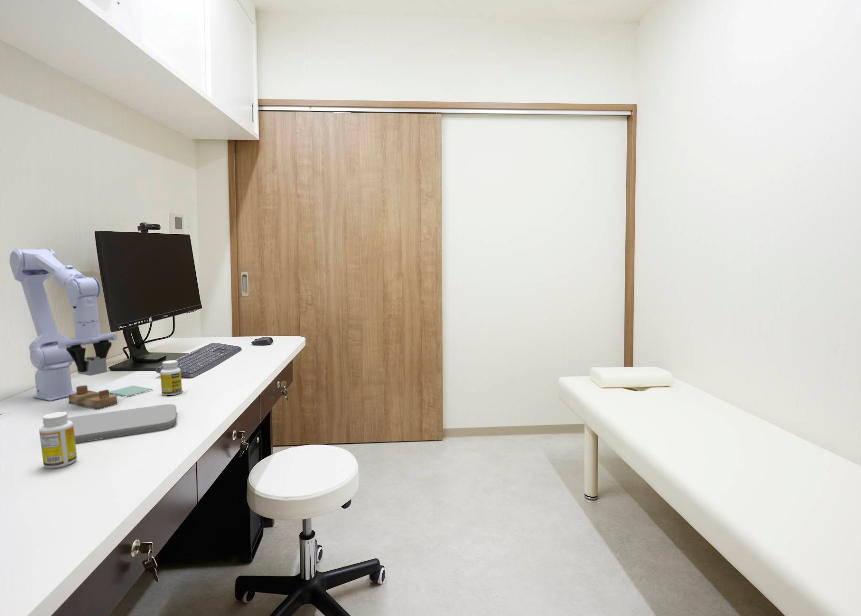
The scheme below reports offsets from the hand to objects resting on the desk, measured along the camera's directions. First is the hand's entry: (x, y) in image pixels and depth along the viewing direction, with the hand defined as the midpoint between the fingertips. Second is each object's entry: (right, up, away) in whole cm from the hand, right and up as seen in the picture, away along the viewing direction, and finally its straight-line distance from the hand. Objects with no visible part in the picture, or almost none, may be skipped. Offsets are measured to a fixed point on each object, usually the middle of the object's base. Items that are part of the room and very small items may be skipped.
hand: (91, 369), depth 143 cm
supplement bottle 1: (+20, -15, -39) cm, 46 cm away
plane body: (-1, -10, +2) cm, 10 cm away
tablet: (+18, -12, -18) cm, 29 cm away
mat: (+3, -8, +13) cm, 16 cm away
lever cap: (0, -1, 0) cm, 1 cm away
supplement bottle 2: (+17, -9, +10) cm, 22 cm away
